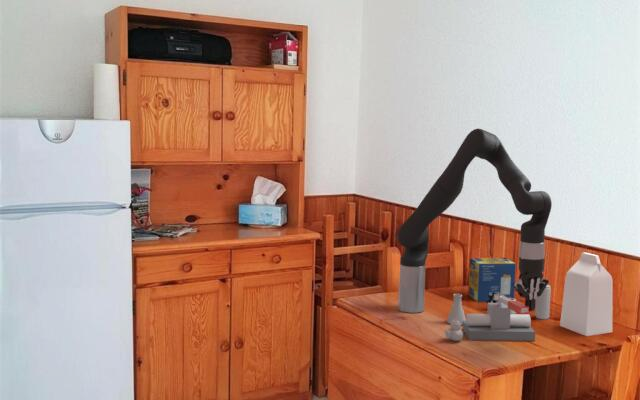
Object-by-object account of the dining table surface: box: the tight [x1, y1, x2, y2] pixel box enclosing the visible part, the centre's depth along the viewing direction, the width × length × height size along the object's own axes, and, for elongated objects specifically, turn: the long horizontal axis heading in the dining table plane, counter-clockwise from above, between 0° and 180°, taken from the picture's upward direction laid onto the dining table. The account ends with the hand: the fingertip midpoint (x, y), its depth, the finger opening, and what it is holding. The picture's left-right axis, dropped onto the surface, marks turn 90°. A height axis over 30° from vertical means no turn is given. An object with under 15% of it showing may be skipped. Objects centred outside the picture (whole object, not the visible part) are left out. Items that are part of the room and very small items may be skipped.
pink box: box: [494, 294, 530, 315], centre depth 207 cm, size 16×3×2 cm, turn 14°
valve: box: [485, 292, 517, 314], centre depth 239 cm, size 7×7×12 cm
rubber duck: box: [444, 317, 464, 342], centre depth 209 cm, size 5×7×8 cm
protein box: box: [468, 257, 517, 303], centre depth 260 cm, size 10×15×16 cm
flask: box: [446, 293, 467, 326], centre depth 228 cm, size 7×7×10 cm
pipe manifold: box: [462, 301, 536, 342], centre depth 215 cm, size 21×11×11 cm, turn 89°
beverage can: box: [534, 284, 552, 321], centre depth 234 cm, size 5×5×12 cm
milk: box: [559, 252, 614, 337], centre depth 221 cm, size 12×12×26 cm
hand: (529, 310), depth 203 cm, fingers closed
